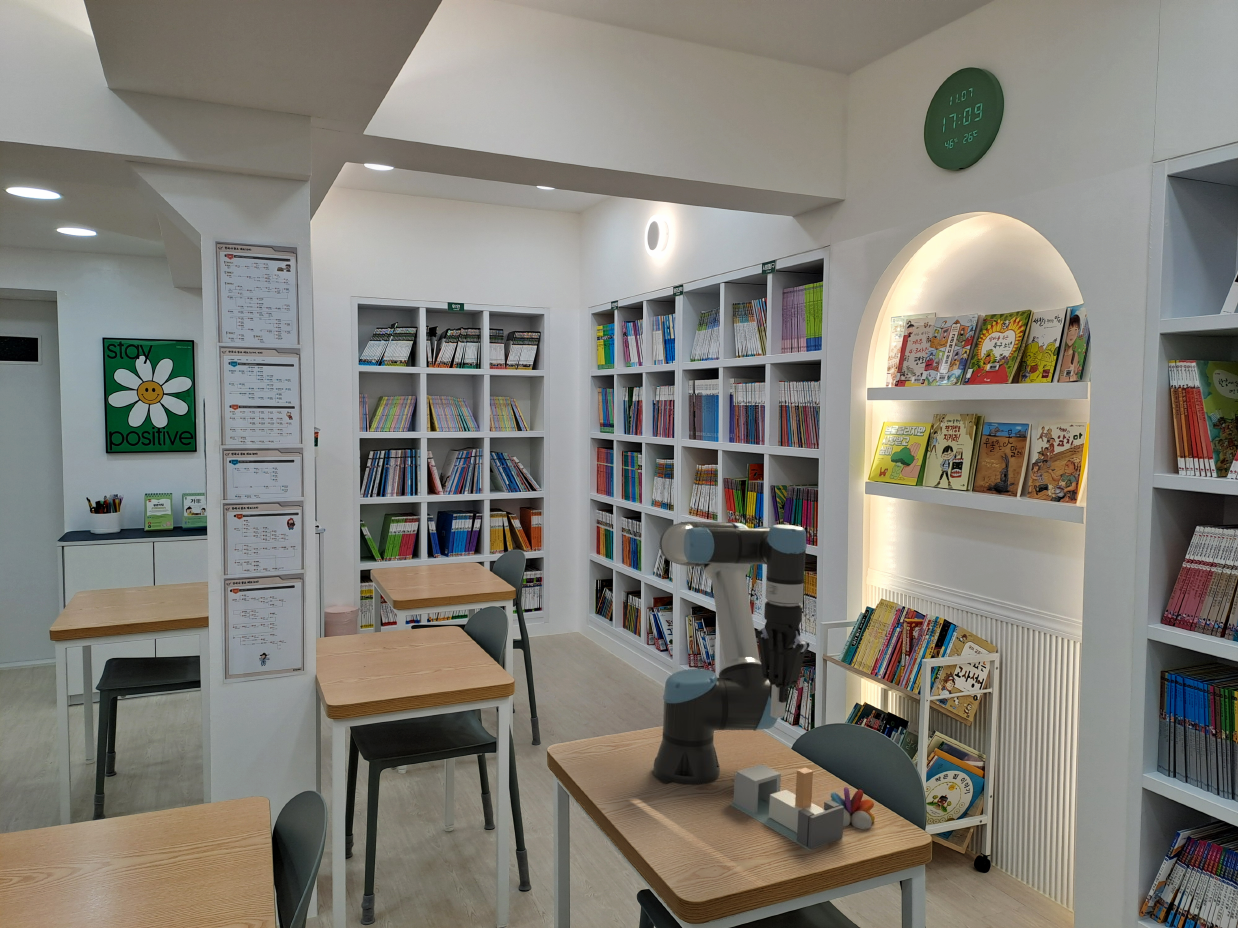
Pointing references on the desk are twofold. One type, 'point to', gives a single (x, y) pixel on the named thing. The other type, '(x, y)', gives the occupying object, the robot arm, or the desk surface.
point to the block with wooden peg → (793, 801)
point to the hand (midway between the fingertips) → (777, 715)
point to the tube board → (811, 829)
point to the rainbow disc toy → (855, 809)
